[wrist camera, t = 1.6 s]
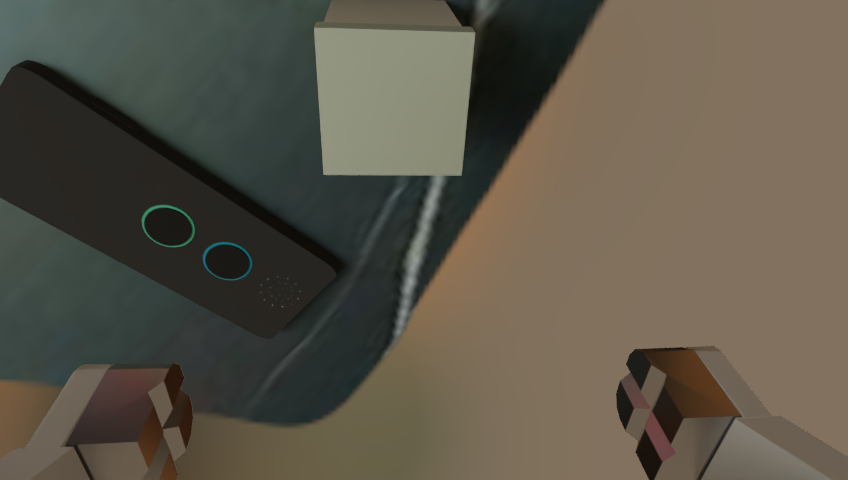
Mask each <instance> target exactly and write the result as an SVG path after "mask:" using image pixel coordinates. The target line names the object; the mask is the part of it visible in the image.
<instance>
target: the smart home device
mask: <svg viewBox="0 0 848 480" xmlns="http://www.w3.org/2000/svg"><path fill="white" fill-rule="evenodd" d="M0 198H2V199H4V200H6V201H8V202H9V203H11V204H13V205H15V206H17V207H19V208H21V209H22V210H24V211H26V212H28V213H30V214H32V215H34V216H35V217H37V218H39V219H41V220H43V221H45V222H47V223H48V224H50V225H52V226H54V227H56V228H58V229H60V230H61V231H63V232H65V233H67V234H69V235H71V236H73V237H74V238H76V239H78V240H80V241H82V242H84V243H86V244H88V245H89V246H91V247H93V248H95V249H97V250H99V251H101V252H102V253H104V254H106V255H108V256H110V257H112V258H114V259H115V260H117V261H119V262H121V263H123V264H125V265H127V266H128V267H130V268H132V269H134V270H136V271H138V272H140V273H141V274H143V275H145V276H147V277H149V278H151V279H153V280H154V281H156V282H158V283H160V284H162V285H164V286H166V287H167V288H169V289H171V290H173V291H175V292H177V293H179V294H180V295H182V296H184V297H186V298H188V299H190V300H192V301H193V302H195V303H197V304H199V305H201V306H203V307H205V308H206V309H208V310H210V311H212V312H214V313H216V314H218V315H219V316H221V317H223V318H225V319H227V320H229V321H231V322H232V323H234V324H236V325H238V326H240V327H242V328H244V329H245V330H247V331H249V332H251V333H253V334H255V335H257V336H259V337H262V338H267V339H271V338H273V337H274V336H275V335H276V334H277V333H278V332H279V331H280V330H281V329H282V328H283V327H284V326H285V325H286V324H288V323H289V322H290V321H291V320H292V319H293V318H294V317H295V316H296V315H297V314H298V313H299V312H300V311H301V310H302V309H303V308H304V307H305V306H306V305H307V304H308V303H309V302H310V301H311V300H312V299H314V298H315V297H316V296H317V295H318V294H319V293H320V292H321V291H322V290H323V289H324V288H325V287H326V286H327V285H328V284H329V283H330V282H331V281H332V280H333V279H334V278H335V277H336V274H337V263H336V261H335V260H334V259H333V257H331V256H330V255H329V254H328V253H326V252H325V251H323V250H322V249H320V248H319V247H317V246H316V245H314V244H313V243H311V242H310V241H308V240H307V239H305V238H304V237H302V236H301V235H299V234H298V233H296V232H295V231H293V230H292V229H290V228H289V227H287V226H286V225H284V224H283V223H281V222H280V221H278V220H277V219H275V218H274V217H272V216H271V215H269V214H268V213H266V212H265V211H263V210H262V209H260V208H259V207H257V206H256V205H254V204H253V203H251V202H250V201H248V200H247V199H245V198H244V197H242V196H241V195H239V194H238V193H236V192H234V191H233V190H231V189H230V188H228V187H227V186H225V185H224V184H222V183H221V182H219V181H218V180H216V179H215V178H213V177H212V176H210V175H209V174H207V173H206V172H204V171H203V170H201V169H200V168H198V167H197V166H195V165H194V164H192V163H191V162H189V161H188V160H186V159H185V158H183V157H182V156H180V155H179V154H177V153H176V152H174V151H173V150H171V149H170V148H168V147H167V146H165V145H164V144H162V143H161V142H159V141H158V140H156V139H155V138H153V137H152V136H150V135H149V134H147V133H146V132H144V131H143V130H141V129H140V127H139V126H137V125H136V124H134V123H133V122H131V121H130V120H128V119H127V118H125V117H124V116H122V115H121V114H119V113H118V112H116V111H115V110H113V109H112V108H110V107H109V106H107V105H106V104H104V103H103V102H101V101H100V100H98V99H97V98H96V99H95V98H93V97H92V96H90V95H88V94H87V93H85V92H84V91H82V90H81V89H79V88H78V87H76V86H75V85H73V84H72V83H70V82H69V81H67V80H66V79H64V78H63V77H61V76H60V75H58V74H57V73H55V72H54V71H52V70H51V69H49V68H47V67H46V66H44V65H42V64H39V63H37V62H34V61H30V60H26V61H23V62H21V63H19V64H17V65H15V66H13V67H12V68H11V69H10V71H9V72H8V73H7V75H6V77H5V79H4V81H3V82H2V84H1V86H0Z"/></svg>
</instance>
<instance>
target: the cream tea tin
mask: <svg viewBox="0 0 848 480" xmlns="http://www.w3.org/2000/svg"><path fill="white" fill-rule="evenodd" d="M314 34H315V50H316V65H317V80H318V96H319V111H320V126H321V142H322V157H323V172H324V175H462V166H463V156H464V145H465V135H466V124H467V114H468V104H469V93H470V83H471V73H472V62H473V52H474V41H475V31H474V30H473V29H472V27H463V26H461V24H460V23H459V21H458V20H457V18H456V17H455V15H454V14H453V12H452V11H451V9H450V8H449V6H448V5H447V3H446V2H445V1H438V0H331V3H330V6H329V9H328V12H327V15H326V18H325V20H324V22H316V24H315V26H314Z"/></svg>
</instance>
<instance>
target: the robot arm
mask: <svg viewBox="0 0 848 480" xmlns="http://www.w3.org/2000/svg"><path fill="white" fill-rule="evenodd" d="M626 365H627V366H628V368H629V370H630V373H629V374H628V375H627V376H626V377H624V378H623V379H622V380H621V381H620V383H619V386H618V390H617V393H616V396H617V410H618V413H619V418H620V420H621V422H622V425H623V427H624V429H625V431H626V432H627V433H629V434H630V435H631V436H633V437H634V438H635V439H636V440H638V445H637V449H636V454H637V456H638V458H639V460H640V462H641V464H642V466H643V468H644V470H645V472H646V474H647V477H648V479H649V480H848V457H847V456H846V455H844V454H842V453H840V452H839V451H837V450H836V449H834V448H832V447H831V446H829V445H828V444H826V443H824V442H822V441H821V440H819V439H818V438H816V437H814V436H812V435H811V434H809V433H808V432H806V431H804V430H803V429H801V428H800V427H798V426H796V425H794V424H793V423H791V422H790V421H788V420H786V419H785V418H783V417H781V416H772V415H771V414H770V413H769V411H768V410H767V409H766V408H765V406H764V405H763V404H762V402H761V401H760V400H759V399H758V397H757V396H756V395H755V394H754V392H753V391H752V390H751V389H750V387H749V386H748V385H747V383H746V382H745V381H744V380H743V378H742V377H741V376H740V374H739V373H738V372H737V371H736V370H735V368H734V367H733V366H732V364H731V363H730V362H729V361H728V359H727V358H726V357H725V355H724V354H723V353H722V352H721V351H720V350H719V349H717V348H715V347H714V346H705V347H687V348H683V347H680V348H679V347H678V348H653V349H635V350H634V351H633V352H632V353H631V354H630V355H629V358H628V361H627V363H626ZM183 381H184V376H183V373H182V370H181V367H180V365H179V364H175V363H117V364H83V365H82V366H80V367H79V368H78V369H76V370H75V371H74V372H73V374H72V375H71V377H70V379H69V380H68V382H67V383H66V385H65V386H64V388H63V390H62V391H61V393H60V394H59V396H58V398H57V399H56V401H55V402H54V404H53V405H52V407H51V408H50V410H49V412H48V413H47V415H46V416H45V418H44V420H43V421H42V423H41V424H40V426H39V427H38V429H37V431H36V432H35V434H34V435H33V437H32V439H31V440H30V442H29V443H28V445H27V446H26V448H23V449H14V450H13V451H12V452H10V453H9V454H7V455H6V456H4V457H3V458H1V459H0V480H176V479H177V476H178V473H177V470H176V467H175V464H174V461H175V460H176V459H177V458H179V457H180V455H182V454H183V453H184V452H185V451H186V449H187V446H188V443H189V440H190V437H191V430H192V422H193V410H192V403H191V400H190V396H189V395H188V394H186V393H185V392H183V391H182V390H181V386H182V383H183Z"/></svg>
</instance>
